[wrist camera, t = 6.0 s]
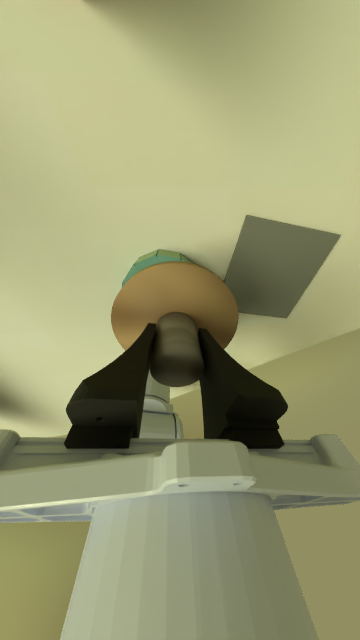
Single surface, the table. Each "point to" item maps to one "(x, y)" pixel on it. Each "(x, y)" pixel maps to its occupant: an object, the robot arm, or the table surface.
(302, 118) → the table surface
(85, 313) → the table surface
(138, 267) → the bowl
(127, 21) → the table surface
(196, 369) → the lid
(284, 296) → the mat
